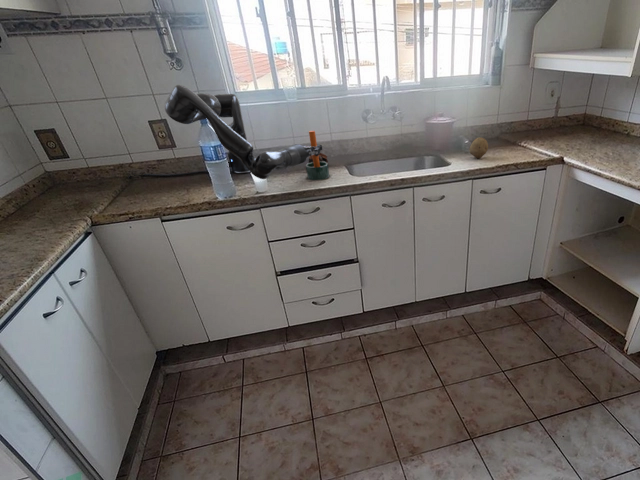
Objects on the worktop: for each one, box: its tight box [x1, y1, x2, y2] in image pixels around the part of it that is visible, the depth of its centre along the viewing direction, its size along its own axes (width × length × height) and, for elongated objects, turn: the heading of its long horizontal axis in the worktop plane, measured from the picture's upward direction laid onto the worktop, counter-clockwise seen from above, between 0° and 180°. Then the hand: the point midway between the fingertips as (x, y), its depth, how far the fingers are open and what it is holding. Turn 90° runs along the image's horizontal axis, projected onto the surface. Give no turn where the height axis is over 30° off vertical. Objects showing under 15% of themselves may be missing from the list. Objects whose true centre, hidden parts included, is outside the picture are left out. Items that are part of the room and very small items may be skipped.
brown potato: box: [468, 137, 489, 159], centre depth 190 cm, size 9×9×10 cm
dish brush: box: [308, 130, 321, 167], centre depth 169 cm, size 5×5×18 cm
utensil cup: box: [305, 161, 330, 181], centre depth 173 cm, size 10×10×6 cm
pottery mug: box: [307, 152, 329, 164], centre depth 187 cm, size 12×10×8 cm
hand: (318, 147), depth 170 cm, fingers closed on dish brush, 2 cm apart
